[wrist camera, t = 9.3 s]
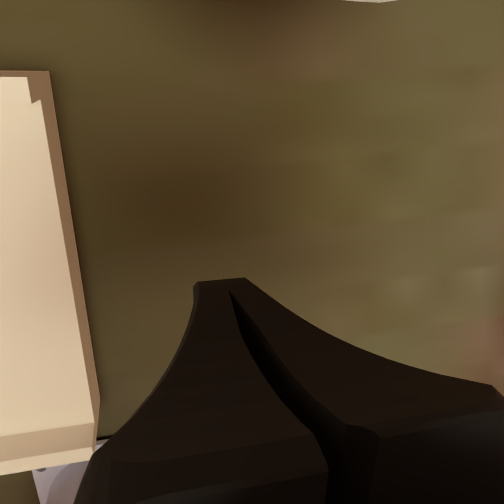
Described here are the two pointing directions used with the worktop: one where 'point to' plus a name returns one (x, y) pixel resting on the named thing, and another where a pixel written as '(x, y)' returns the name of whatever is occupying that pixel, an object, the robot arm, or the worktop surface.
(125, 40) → the worktop surface
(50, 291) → the trap box
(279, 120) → the worktop surface
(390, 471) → the robot arm
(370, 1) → the disposable coffee cup
